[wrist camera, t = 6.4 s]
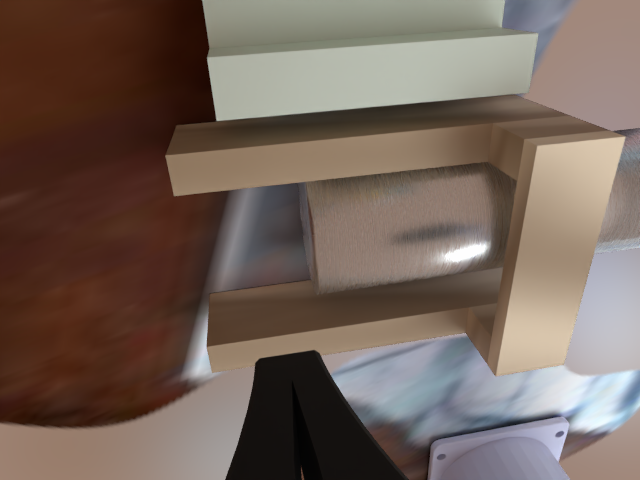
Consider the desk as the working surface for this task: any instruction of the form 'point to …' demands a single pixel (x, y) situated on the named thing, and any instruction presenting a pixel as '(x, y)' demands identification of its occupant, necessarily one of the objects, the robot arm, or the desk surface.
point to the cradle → (359, 54)
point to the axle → (435, 222)
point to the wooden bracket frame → (426, 294)
